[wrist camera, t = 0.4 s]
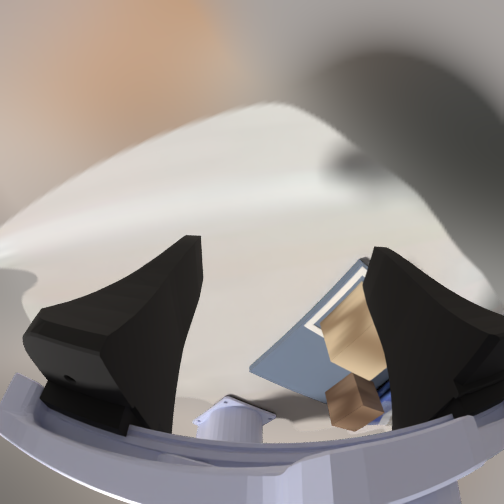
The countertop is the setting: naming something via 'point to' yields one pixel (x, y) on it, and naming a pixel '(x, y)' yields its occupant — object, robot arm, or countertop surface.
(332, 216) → the countertop surface
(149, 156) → the countertop surface
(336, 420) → the walnut block
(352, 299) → the oak base block
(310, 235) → the countertop surface
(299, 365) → the board
